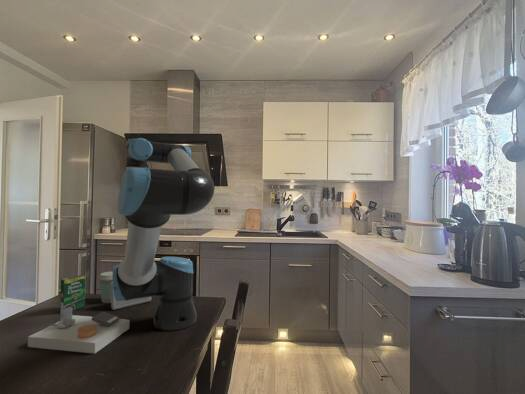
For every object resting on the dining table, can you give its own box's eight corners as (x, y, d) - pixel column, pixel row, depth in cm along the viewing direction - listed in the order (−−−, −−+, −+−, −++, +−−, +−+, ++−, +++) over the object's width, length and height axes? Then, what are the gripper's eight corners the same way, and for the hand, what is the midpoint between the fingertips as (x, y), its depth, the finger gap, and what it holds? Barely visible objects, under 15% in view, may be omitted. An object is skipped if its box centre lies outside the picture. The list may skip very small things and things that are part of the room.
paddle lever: (75, 322, 90) (75, 307, 90) (64, 328, 86) (65, 311, 86) (67, 322, 90) (67, 306, 90) (56, 327, 86) (57, 311, 86)
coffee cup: (110, 305, 115) (111, 276, 115) (93, 303, 116) (94, 275, 117) (124, 298, 123) (125, 271, 123) (108, 296, 125) (109, 270, 125)
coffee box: (62, 314, 104) (63, 279, 105) (59, 312, 106) (60, 278, 106) (85, 307, 111) (86, 275, 112) (81, 306, 113) (82, 274, 113)
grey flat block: (118, 320, 93) (119, 317, 93) (108, 326, 88) (109, 323, 88) (102, 314, 93) (103, 311, 93) (91, 320, 88) (92, 317, 88)
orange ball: (99, 341, 85) (100, 325, 85) (87, 349, 80) (88, 332, 80) (85, 340, 85) (86, 324, 85) (73, 348, 80) (73, 331, 81)
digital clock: (109, 311, 108) (110, 284, 108) (108, 304, 115) (109, 279, 116) (153, 304, 116) (153, 279, 117) (149, 298, 124) (149, 274, 124)
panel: (129, 328, 94) (129, 318, 94) (94, 353, 78) (95, 341, 78) (72, 323, 96) (72, 313, 97) (27, 346, 81) (28, 334, 81)
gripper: (136, 180, 115) (135, 236, 114) (116, 177, 102) (114, 240, 101) (153, 180, 114) (151, 236, 113) (134, 177, 101) (132, 240, 100)
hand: (134, 238), depth 107 cm, fingers closed
